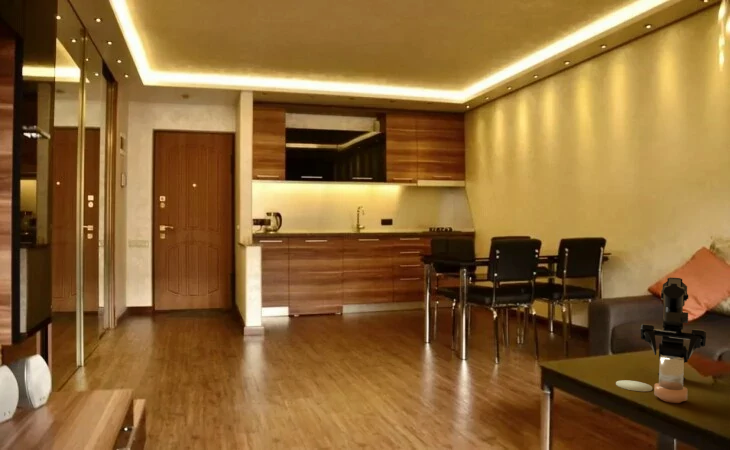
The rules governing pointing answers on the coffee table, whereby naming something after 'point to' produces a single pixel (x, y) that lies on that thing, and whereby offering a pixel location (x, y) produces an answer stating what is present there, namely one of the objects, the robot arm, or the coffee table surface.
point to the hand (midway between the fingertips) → (671, 356)
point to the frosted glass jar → (671, 372)
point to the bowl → (670, 394)
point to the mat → (634, 385)
